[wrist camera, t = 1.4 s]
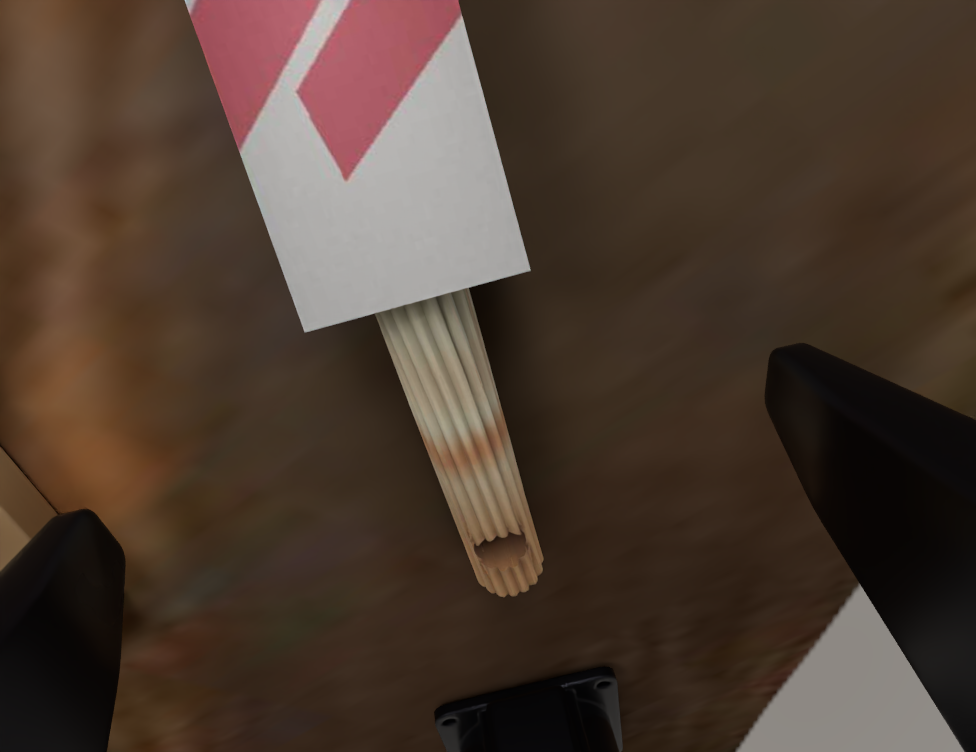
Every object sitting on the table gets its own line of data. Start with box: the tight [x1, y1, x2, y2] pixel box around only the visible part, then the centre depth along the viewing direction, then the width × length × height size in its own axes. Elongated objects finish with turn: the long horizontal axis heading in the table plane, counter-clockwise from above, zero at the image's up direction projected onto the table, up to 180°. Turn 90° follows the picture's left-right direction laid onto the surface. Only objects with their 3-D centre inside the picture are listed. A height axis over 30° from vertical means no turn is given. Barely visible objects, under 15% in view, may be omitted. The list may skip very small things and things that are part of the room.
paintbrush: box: [185, 0, 543, 597], centre depth 13 cm, size 4×3×20 cm
